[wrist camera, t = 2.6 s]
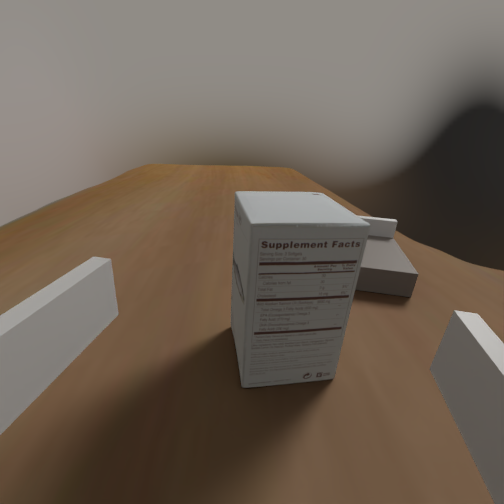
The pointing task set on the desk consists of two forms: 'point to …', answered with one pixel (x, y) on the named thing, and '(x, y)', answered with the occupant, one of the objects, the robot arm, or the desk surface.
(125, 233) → the desk surface
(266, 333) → the supplement box
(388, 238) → the shelf board
